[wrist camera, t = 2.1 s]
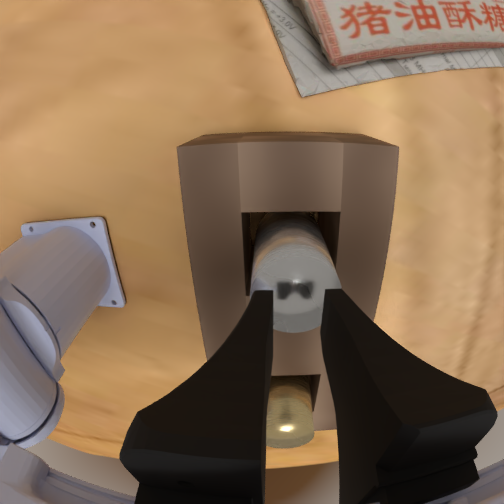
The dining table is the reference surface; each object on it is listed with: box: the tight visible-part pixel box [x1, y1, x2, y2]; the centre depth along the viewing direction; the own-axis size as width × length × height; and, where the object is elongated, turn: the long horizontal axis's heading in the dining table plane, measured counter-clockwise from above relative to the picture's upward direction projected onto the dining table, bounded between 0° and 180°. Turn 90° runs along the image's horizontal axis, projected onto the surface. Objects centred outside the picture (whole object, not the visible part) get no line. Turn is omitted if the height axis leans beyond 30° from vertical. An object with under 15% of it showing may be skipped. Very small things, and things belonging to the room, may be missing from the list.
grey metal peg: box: [250, 211, 341, 333], centre depth 14 cm, size 4×4×6 cm
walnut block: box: [177, 132, 399, 431], centre depth 20 cm, size 10×22×6 cm, turn 2°
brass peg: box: [266, 375, 314, 448], centre depth 19 cm, size 4×4×6 cm
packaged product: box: [261, 0, 504, 97], centre depth 11 cm, size 18×5×10 cm
